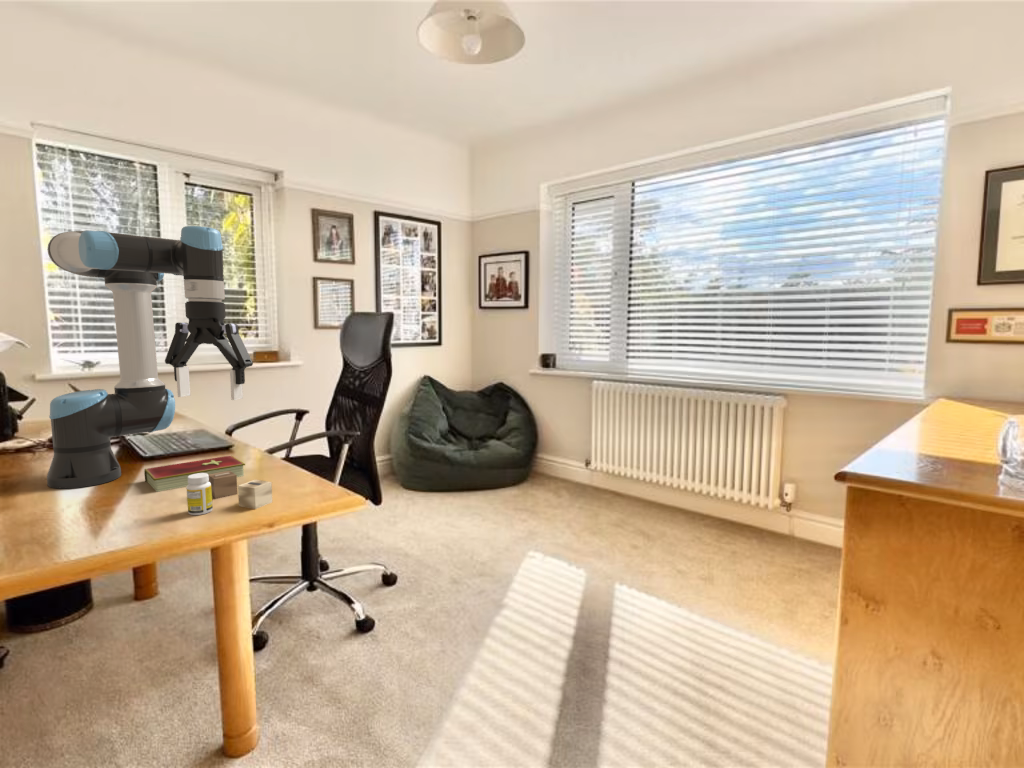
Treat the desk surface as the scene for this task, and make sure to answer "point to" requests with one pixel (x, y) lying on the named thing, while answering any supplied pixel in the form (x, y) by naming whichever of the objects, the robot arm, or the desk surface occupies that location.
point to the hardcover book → (190, 471)
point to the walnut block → (223, 484)
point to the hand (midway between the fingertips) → (210, 397)
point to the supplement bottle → (199, 494)
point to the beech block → (255, 494)
